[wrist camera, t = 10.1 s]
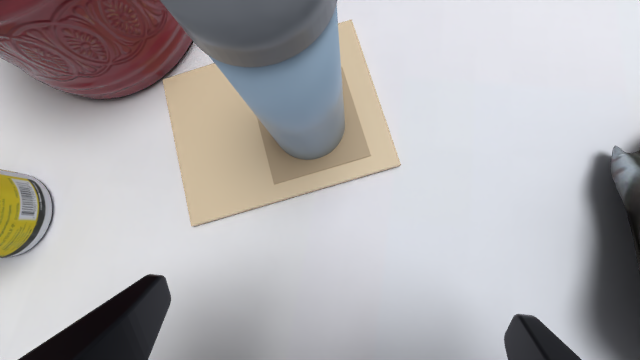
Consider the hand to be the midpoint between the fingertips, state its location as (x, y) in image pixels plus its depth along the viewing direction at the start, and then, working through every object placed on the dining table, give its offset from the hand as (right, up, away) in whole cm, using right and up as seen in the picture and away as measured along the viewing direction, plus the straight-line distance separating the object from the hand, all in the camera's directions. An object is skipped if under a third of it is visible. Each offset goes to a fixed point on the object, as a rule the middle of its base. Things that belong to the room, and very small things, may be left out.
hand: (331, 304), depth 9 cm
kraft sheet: (-3, +7, +12) cm, 15 cm away
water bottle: (-1, +7, +12) cm, 13 cm away
